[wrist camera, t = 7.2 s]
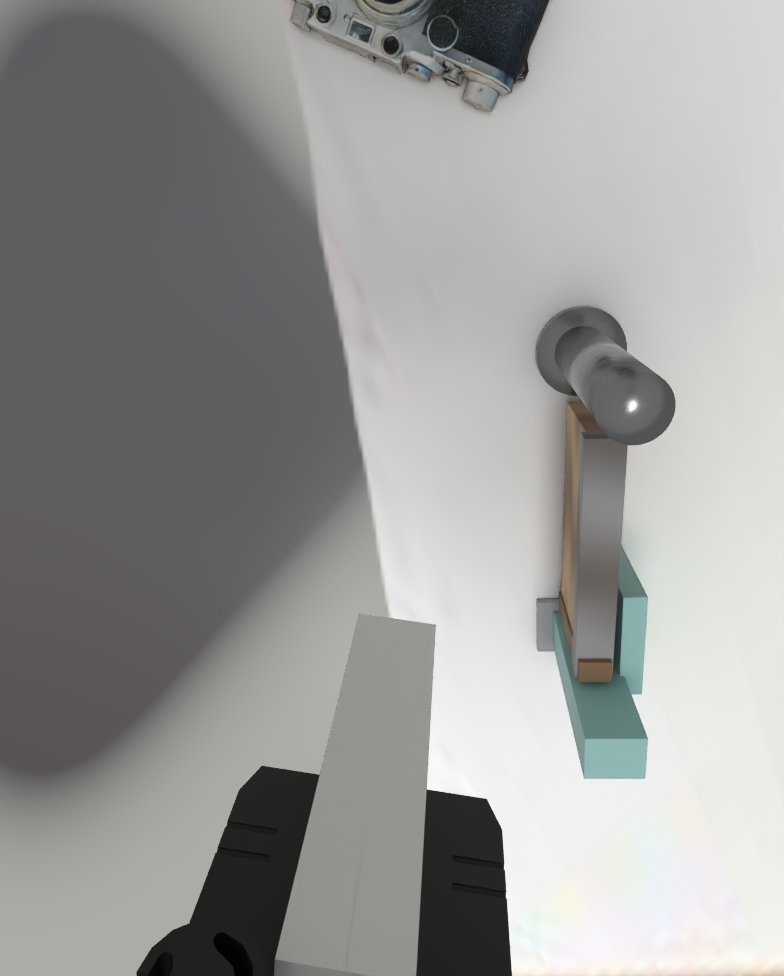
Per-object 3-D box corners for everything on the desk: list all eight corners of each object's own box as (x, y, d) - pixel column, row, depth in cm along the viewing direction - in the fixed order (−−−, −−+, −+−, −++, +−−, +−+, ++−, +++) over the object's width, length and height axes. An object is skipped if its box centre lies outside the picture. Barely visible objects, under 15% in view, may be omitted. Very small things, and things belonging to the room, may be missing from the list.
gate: (562, 402, 32) (586, 441, 26) (598, 400, 31) (629, 440, 26) (556, 608, 36) (576, 681, 30) (588, 608, 35) (613, 681, 30)
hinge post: (535, 309, 31) (572, 350, 21) (626, 303, 30) (707, 341, 21) (535, 396, 32) (570, 471, 23) (622, 391, 32) (696, 465, 22)
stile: (536, 539, 35) (565, 653, 26) (616, 536, 35) (675, 652, 25) (536, 646, 37) (564, 787, 28) (612, 645, 37) (664, 788, 28)
